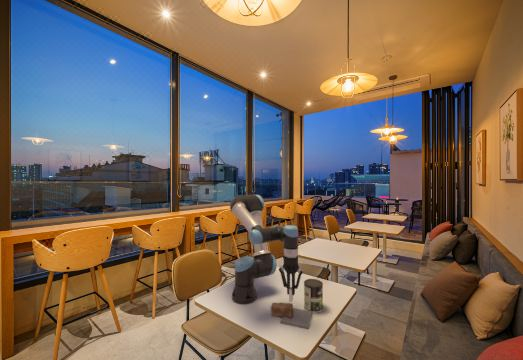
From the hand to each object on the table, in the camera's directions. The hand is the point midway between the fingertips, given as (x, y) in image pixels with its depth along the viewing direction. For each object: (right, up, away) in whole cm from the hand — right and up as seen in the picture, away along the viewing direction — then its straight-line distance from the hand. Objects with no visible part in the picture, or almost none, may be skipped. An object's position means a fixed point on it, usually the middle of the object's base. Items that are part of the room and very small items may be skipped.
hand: (291, 300), depth 120 cm
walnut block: (+1, -5, 0) cm, 5 cm away
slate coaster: (+3, -8, -1) cm, 9 cm away
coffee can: (+14, -9, +8) cm, 18 cm away
